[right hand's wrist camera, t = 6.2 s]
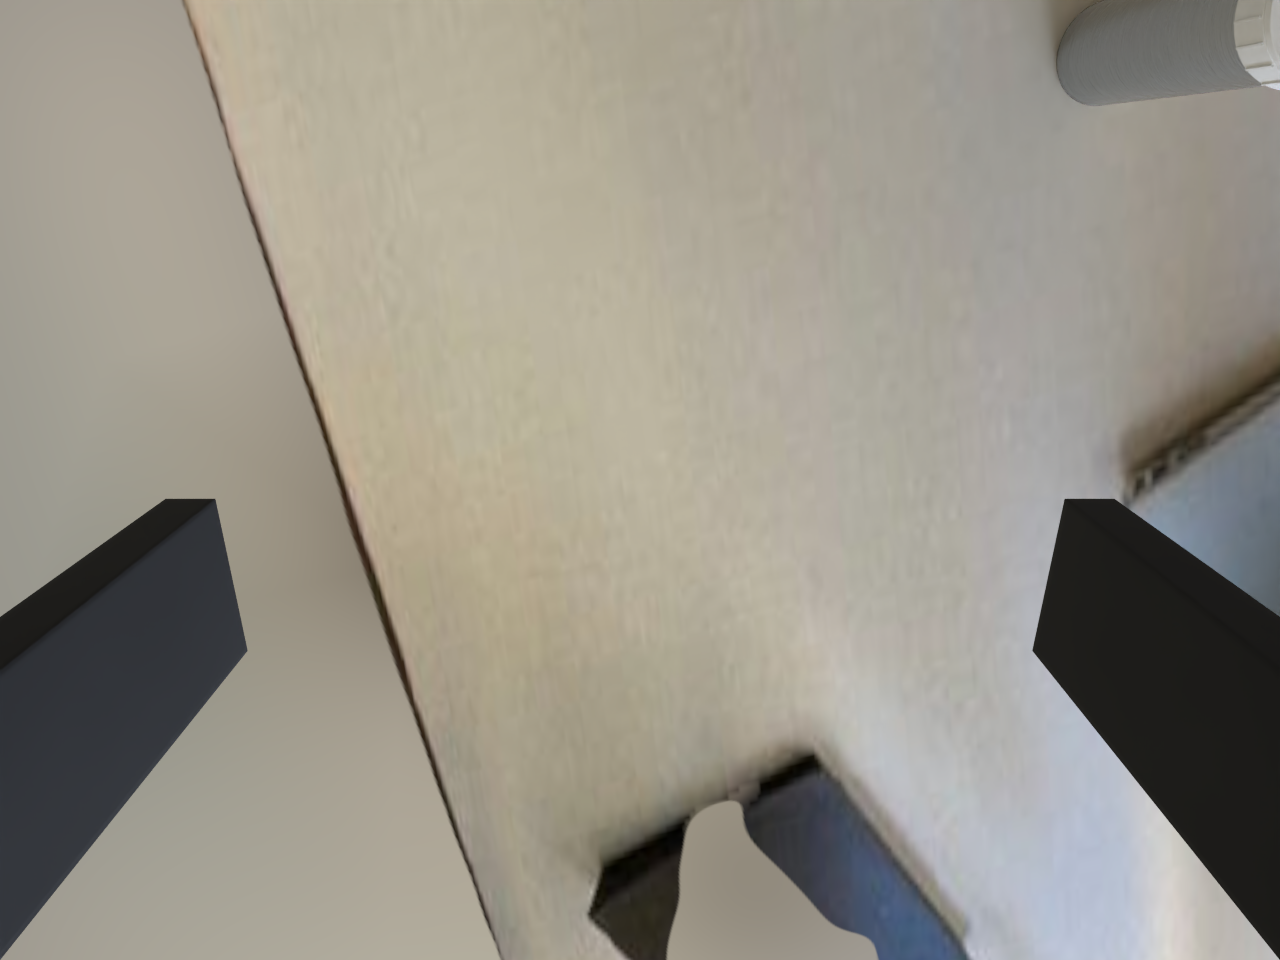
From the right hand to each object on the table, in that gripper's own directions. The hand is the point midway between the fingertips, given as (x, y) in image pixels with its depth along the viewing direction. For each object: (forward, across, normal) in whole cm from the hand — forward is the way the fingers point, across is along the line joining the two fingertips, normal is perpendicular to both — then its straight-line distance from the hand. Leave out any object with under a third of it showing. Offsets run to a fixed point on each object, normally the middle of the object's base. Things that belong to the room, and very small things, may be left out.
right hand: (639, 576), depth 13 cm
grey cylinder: (+41, +27, +12) cm, 50 cm away
